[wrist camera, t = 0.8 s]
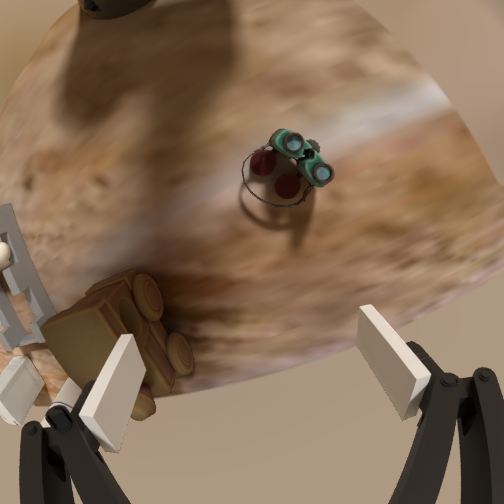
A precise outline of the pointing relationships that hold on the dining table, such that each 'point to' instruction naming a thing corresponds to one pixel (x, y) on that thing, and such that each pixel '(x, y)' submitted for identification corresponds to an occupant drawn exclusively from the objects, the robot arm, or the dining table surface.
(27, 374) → the skincare box
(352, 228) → the dining table surface
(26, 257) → the grey notched frame
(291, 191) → the binoculars
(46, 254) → the dining table surface
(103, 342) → the wooden toy train
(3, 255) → the cream round-ended rod
